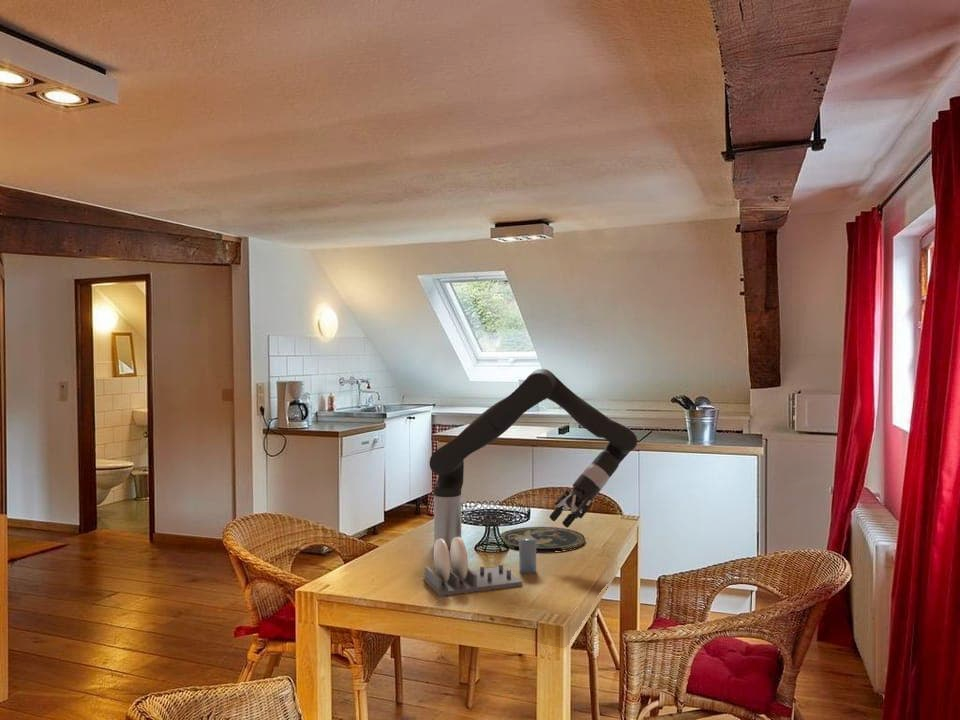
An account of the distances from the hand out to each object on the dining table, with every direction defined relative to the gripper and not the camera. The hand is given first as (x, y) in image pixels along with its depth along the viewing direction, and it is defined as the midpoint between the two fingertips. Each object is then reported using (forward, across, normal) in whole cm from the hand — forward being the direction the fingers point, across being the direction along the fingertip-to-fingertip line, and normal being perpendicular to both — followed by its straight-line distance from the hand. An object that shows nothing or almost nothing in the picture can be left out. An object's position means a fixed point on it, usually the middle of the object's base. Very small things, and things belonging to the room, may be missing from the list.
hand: (557, 522), depth 216 cm
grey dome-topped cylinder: (+17, 0, +2) cm, 17 cm away
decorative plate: (+4, -30, +16) cm, 34 cm away
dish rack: (+30, +4, -11) cm, 32 cm away
